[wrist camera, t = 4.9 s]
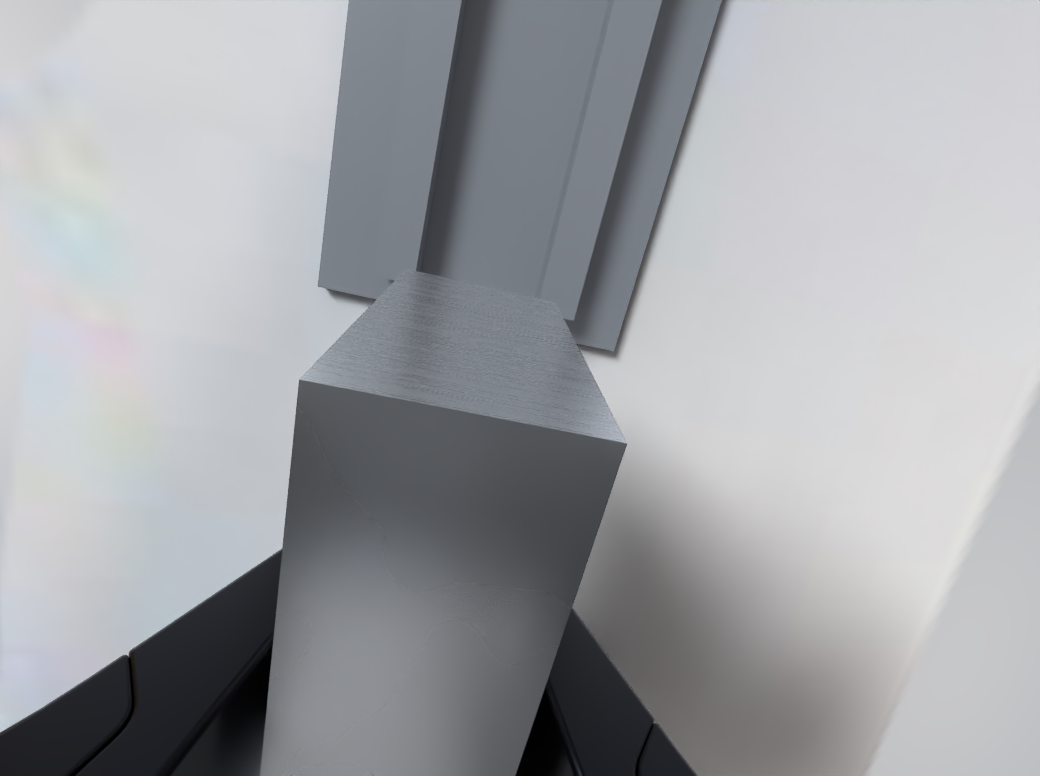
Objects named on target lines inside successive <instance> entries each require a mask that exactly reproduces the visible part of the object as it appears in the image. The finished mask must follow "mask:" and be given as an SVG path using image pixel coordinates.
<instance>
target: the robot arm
mask: <svg viewBox="0 0 1040 776" xmlns="http://www.w3.org/2000/svg"><path fill="white" fill-rule="evenodd" d="M281 558H282V549H281V550H279V551H278V552H276V553H275V554H273V555H272V556H271V557H269V558H268V559H266V560H265V561H263V562H262V563H260V564H259V565H257V566H256V567H254V568H253V569H251V570H250V571H248V572H247V573H245V574H244V575H242V576H241V577H239V578H238V579H236V580H235V581H233V582H232V583H230V584H229V585H227V586H226V587H224V588H223V589H221V590H220V591H218V592H217V593H215V594H214V595H212V596H211V597H209V598H208V599H206V600H205V601H203V602H202V603H200V604H199V605H197V606H196V607H194V608H193V609H191V610H190V611H188V612H187V613H185V614H184V615H182V616H181V617H180V618H178V619H177V620H175V621H174V622H172V623H171V624H169V625H168V626H166V627H165V628H163V629H162V630H160V631H159V632H157V633H156V634H154V635H153V636H151V637H150V638H148V639H147V640H145V641H144V642H142V643H141V644H139V645H138V646H136V647H135V648H133V649H132V650H130V652H129V657H128V656H127V655H123V656H121V657H119V658H118V659H116V660H115V661H113V662H112V663H110V664H109V665H107V666H106V667H104V668H103V669H101V670H100V671H98V672H97V673H95V674H94V675H92V676H91V677H89V678H88V679H86V680H85V681H83V682H82V683H80V684H78V685H77V686H75V687H74V688H72V689H71V690H69V691H68V692H66V693H64V694H63V695H61V696H60V697H58V698H57V699H55V700H53V701H52V702H50V703H49V704H47V705H46V706H44V707H43V708H41V709H39V710H38V711H36V712H34V713H32V714H31V715H29V716H27V717H26V718H24V719H22V720H21V721H19V722H17V723H16V724H14V725H12V726H10V727H9V728H7V729H5V730H4V731H2V732H0V776H260V770H261V760H262V750H263V740H264V730H265V720H266V710H267V699H268V689H269V679H270V669H271V659H272V649H273V639H274V629H275V619H276V609H277V599H278V589H279V579H280V568H281ZM653 723H654V718H653V716H652V715H651V714H650V712H649V711H648V710H647V708H646V707H645V706H644V704H643V703H642V701H641V700H640V699H639V697H638V696H637V695H636V693H635V692H634V691H633V689H632V688H631V687H630V685H629V684H628V683H627V681H626V680H625V678H624V677H623V676H622V674H621V673H620V672H619V670H618V669H617V668H616V666H615V665H614V664H613V662H612V661H611V659H610V658H609V657H608V655H607V654H606V653H605V651H604V650H603V649H602V647H601V646H600V645H599V643H598V642H597V640H596V639H595V638H594V636H593V635H592V634H591V632H590V631H589V630H588V628H587V627H586V626H585V624H584V623H583V622H582V620H581V619H580V617H579V616H578V615H577V613H576V612H575V611H574V609H573V608H572V609H571V612H570V615H569V618H568V621H567V624H566V627H565V630H564V633H563V636H562V638H561V641H560V644H559V647H558V650H557V653H556V656H555V659H554V662H553V665H552V668H551V671H550V674H549V677H548V680H547V683H546V686H545V689H544V692H543V695H542V698H541V701H540V704H539V707H538V710H537V713H536V716H535V719H534V722H533V725H532V728H531V731H530V734H529V737H528V740H527V742H526V745H525V748H524V751H523V754H522V757H521V760H520V763H519V766H518V769H517V772H516V775H515V776H697V774H696V773H695V772H694V770H693V769H692V768H691V767H690V765H689V764H688V763H687V761H686V760H685V759H684V758H683V756H682V755H681V754H680V752H679V751H678V750H677V748H676V747H675V746H674V744H673V743H672V742H671V740H670V739H669V738H668V736H667V735H666V734H665V732H664V731H663V730H662V728H661V727H660V726H659V724H657V723H654V724H653Z"/></svg>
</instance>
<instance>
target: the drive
mask: <svg viewBox="0 0 1040 776" xmlns="http://www.w3.org/2000/svg"><path fill="white" fill-rule="evenodd" d="M626 445H627V442H626V440H625V438H624V436H623V434H622V432H621V430H620V428H619V426H618V424H617V422H616V420H615V418H614V417H613V415H612V413H611V411H610V409H609V407H608V405H607V403H606V401H605V399H604V397H603V395H602V393H601V391H600V389H599V387H598V385H597V383H596V381H595V379H594V377H593V375H592V373H591V371H590V369H589V367H588V365H587V363H586V361H585V360H584V358H583V356H582V354H581V352H580V350H579V348H578V346H577V344H576V342H575V340H574V338H573V336H572V334H571V332H570V330H569V328H568V326H567V324H566V322H565V320H564V318H563V316H562V314H561V312H560V310H559V308H558V306H557V304H556V302H551V301H547V300H542V299H538V298H534V297H529V296H525V295H520V294H516V293H511V292H507V291H503V290H498V289H494V288H489V287H485V286H480V285H476V284H471V283H467V282H463V281H458V280H454V279H449V278H445V277H440V276H436V275H431V274H427V273H423V272H418V271H414V270H409V269H406V270H405V271H404V272H403V273H402V274H401V275H400V276H399V277H398V278H397V279H396V280H395V281H394V282H393V283H392V284H391V285H390V286H389V287H388V288H387V289H386V290H385V291H384V292H383V293H382V294H381V296H380V297H379V298H378V299H377V300H376V301H375V302H374V303H373V304H372V305H371V306H370V307H369V308H368V309H367V310H366V311H365V312H364V313H363V314H362V315H361V316H360V317H359V318H358V319H357V320H356V321H355V322H354V323H353V324H352V325H351V327H350V328H349V329H348V330H347V331H346V332H345V333H344V334H343V335H342V336H341V337H340V338H339V339H338V340H337V341H336V342H335V343H334V344H333V345H332V346H331V347H330V348H329V349H328V350H327V351H326V352H325V353H324V354H323V355H322V356H321V357H320V359H319V360H318V361H317V362H316V363H315V364H314V365H313V366H312V367H311V368H310V369H309V370H308V371H307V372H306V373H305V374H304V375H303V376H302V377H301V378H300V379H299V387H298V397H297V407H296V417H295V427H294V437H293V448H292V458H291V468H290V478H289V488H288V498H287V508H286V518H285V528H284V538H283V548H282V558H281V568H280V579H279V589H278V599H277V609H276V619H275V629H274V639H273V649H272V659H271V669H270V679H269V689H268V699H267V710H266V720H265V730H264V740H263V750H262V760H261V770H260V776H515V775H516V772H517V769H518V766H519V763H520V760H521V757H522V754H523V751H524V748H525V745H526V742H527V740H528V737H529V734H530V731H531V728H532V725H533V722H534V719H535V716H536V713H537V710H538V707H539V704H540V701H541V698H542V695H543V692H544V689H545V686H546V683H547V680H548V677H549V674H550V671H551V668H552V665H553V662H554V659H555V656H556V653H557V650H558V647H559V644H560V641H561V638H562V636H563V633H564V630H565V627H566V624H567V621H568V618H569V615H570V612H571V609H572V606H573V603H574V600H575V597H576V594H577V591H578V588H579V585H580V582H581V579H582V576H583V573H584V570H585V567H586V564H587V561H588V558H589V555H590V552H591V549H592V546H593V543H594V540H595V537H596V535H597V532H598V529H599V526H600V523H601V520H602V517H603V514H604V511H605V508H606V505H607V502H608V499H609V496H610V493H611V490H612V487H613V484H614V481H615V478H616V475H617V472H618V469H619V466H620V463H621V460H622V457H623V454H624V451H625V448H626Z"/></svg>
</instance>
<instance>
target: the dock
mask: <svg viewBox="0 0 1040 776" xmlns="http://www.w3.org/2000/svg"><path fill="white" fill-rule="evenodd" d="M721 2H722V0H349V4H348V13H347V23H346V32H345V41H344V50H343V59H342V69H341V78H340V87H339V96H338V105H337V115H336V124H335V133H334V142H333V151H332V161H331V170H330V179H329V188H328V197H327V207H326V216H325V225H324V234H323V243H322V253H321V262H320V271H319V280H318V287H322V288H326V289H331V290H336V291H340V292H345V293H349V294H354V295H358V296H363V297H367V298H372V299H378V298H379V297H380V296H381V294H382V293H383V292H384V291H385V290H386V289H387V288H388V287H389V286H390V285H391V284H392V283H393V282H394V281H395V280H396V279H397V278H398V277H399V276H400V275H401V274H402V273H403V272H404V271H405V270H406V269H409V270H414V271H418V272H423V273H427V274H431V275H436V276H440V277H445V278H449V279H454V280H458V281H463V282H467V283H471V284H476V285H480V286H485V287H489V288H494V289H498V290H503V291H507V292H511V293H516V294H520V295H525V296H529V297H534V298H538V299H542V300H547V301H551V302H556V304H557V306H558V308H559V310H560V312H561V314H562V316H563V318H564V320H565V322H566V324H567V326H568V328H569V330H570V332H571V334H572V336H573V338H574V340H575V342H576V343H577V344H582V345H586V346H591V347H596V348H600V349H605V350H609V351H614V350H615V346H616V343H617V340H618V337H619V333H620V330H621V327H622V324H623V320H624V317H625V314H626V311H627V307H628V304H629V301H630V298H631V294H632V291H633V288H634V285H635V281H636V278H637V275H638V272H639V268H640V265H641V262H642V259H643V255H644V252H645V249H646V246H647V242H648V239H649V236H650V233H651V229H652V226H653V223H654V220H655V216H656V213H657V210H658V207H659V203H660V200H661V197H662V194H663V190H664V187H665V184H666V181H667V177H668V174H669V171H670V168H671V164H672V161H673V158H674V155H675V151H676V148H677V145H678V142H679V138H680V135H681V132H682V129H683V125H684V122H685V119H686V116H687V112H688V109H689V106H690V103H691V99H692V96H693V93H694V90H695V86H696V83H697V80H698V77H699V73H700V70H701V67H702V64H703V60H704V57H705V54H706V51H707V47H708V44H709V41H710V38H711V34H712V31H713V28H714V25H715V21H716V18H717V15H718V12H719V8H720V5H721Z"/></svg>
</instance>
